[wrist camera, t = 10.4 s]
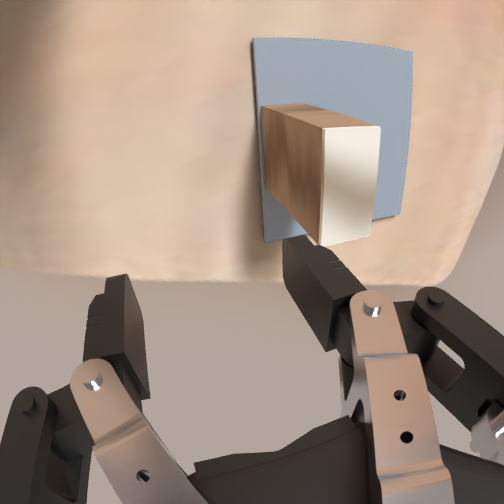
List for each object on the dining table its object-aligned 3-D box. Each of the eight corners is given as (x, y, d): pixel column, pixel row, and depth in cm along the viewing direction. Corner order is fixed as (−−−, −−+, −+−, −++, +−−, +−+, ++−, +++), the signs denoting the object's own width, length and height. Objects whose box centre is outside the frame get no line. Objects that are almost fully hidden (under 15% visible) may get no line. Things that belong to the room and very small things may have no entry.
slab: (261, 105, 23) (325, 129, 15) (303, 103, 24) (380, 127, 16) (265, 187, 27) (320, 247, 19) (304, 181, 28) (369, 236, 19)
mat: (252, 38, 20) (253, 38, 20) (409, 51, 24) (412, 52, 23) (264, 241, 30) (265, 243, 30) (397, 212, 33) (399, 214, 33)
